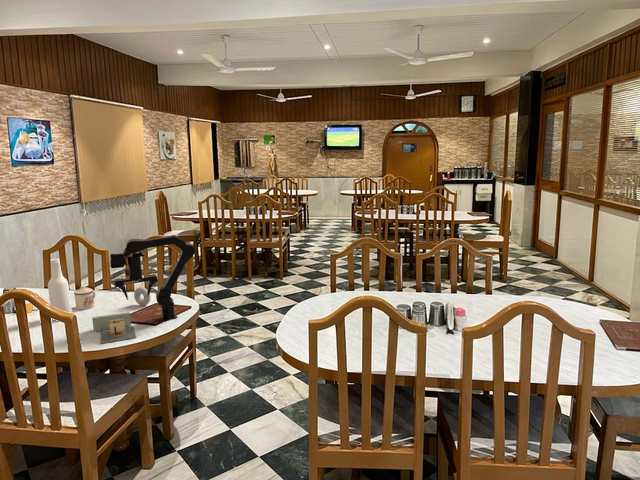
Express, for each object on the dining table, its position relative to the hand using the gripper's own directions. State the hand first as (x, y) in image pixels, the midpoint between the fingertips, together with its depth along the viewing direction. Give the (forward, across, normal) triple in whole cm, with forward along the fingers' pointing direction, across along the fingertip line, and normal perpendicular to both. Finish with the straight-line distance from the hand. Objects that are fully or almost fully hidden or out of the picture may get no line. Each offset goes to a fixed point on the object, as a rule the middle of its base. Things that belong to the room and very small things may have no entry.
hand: (137, 298), depth 227 cm
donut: (+12, -3, -26) cm, 29 cm away
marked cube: (+12, +10, +13) cm, 20 cm away
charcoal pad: (+12, +10, +13) cm, 21 cm away
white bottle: (+12, +34, -25) cm, 44 cm away
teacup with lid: (+12, +24, -38) cm, 47 cm away
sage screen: (+12, +12, +1) cm, 17 cm away
